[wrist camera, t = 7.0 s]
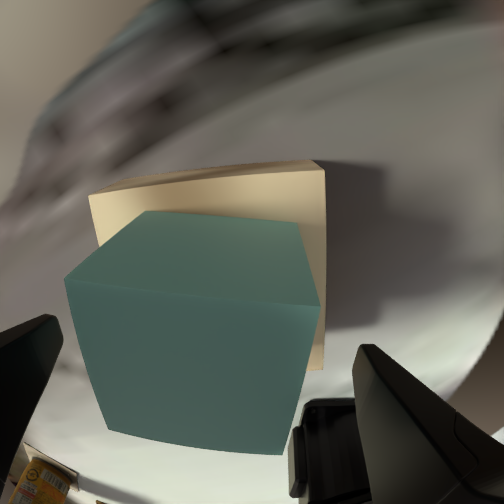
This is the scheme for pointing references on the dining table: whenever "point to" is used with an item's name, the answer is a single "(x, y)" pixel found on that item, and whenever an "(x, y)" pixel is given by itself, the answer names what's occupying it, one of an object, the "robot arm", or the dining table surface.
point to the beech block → (231, 208)
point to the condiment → (43, 481)
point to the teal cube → (198, 329)
